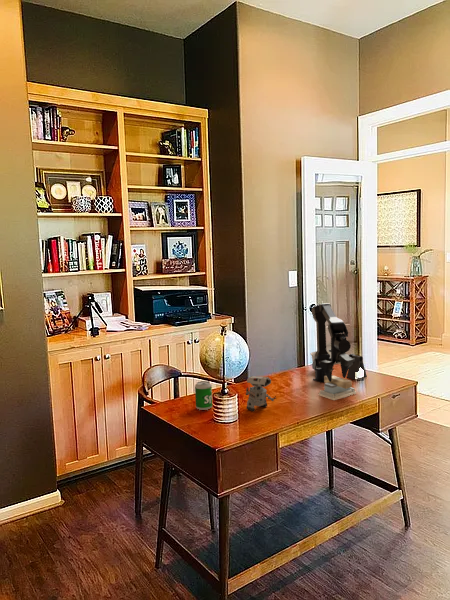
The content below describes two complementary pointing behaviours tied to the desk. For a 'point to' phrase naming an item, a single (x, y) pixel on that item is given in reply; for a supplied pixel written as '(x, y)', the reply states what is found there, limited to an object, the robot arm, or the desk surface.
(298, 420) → the desk surface
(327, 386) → the light blue block
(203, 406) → the soda can
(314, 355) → the teacup
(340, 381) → the tan rectangular bar
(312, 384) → the desk surface
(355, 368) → the phone stand
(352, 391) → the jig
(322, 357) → the robot arm
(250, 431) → the desk surface
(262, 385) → the figurine
